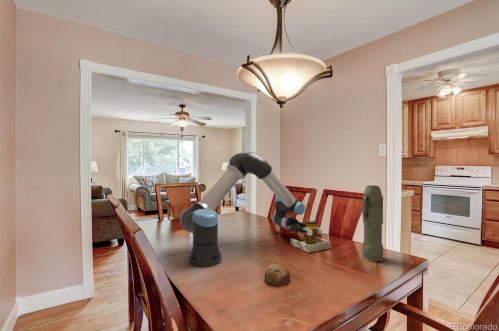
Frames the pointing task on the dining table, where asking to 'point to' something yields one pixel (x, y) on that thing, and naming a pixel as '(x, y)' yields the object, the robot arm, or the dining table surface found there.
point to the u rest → (311, 248)
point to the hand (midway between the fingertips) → (316, 232)
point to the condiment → (312, 239)
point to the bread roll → (277, 274)
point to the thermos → (372, 223)
